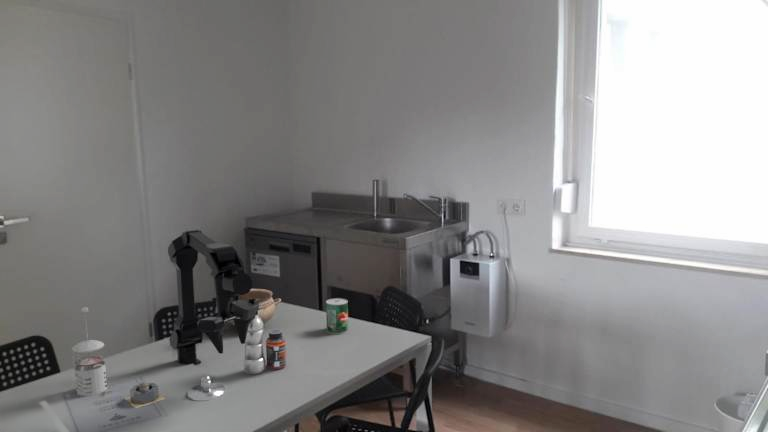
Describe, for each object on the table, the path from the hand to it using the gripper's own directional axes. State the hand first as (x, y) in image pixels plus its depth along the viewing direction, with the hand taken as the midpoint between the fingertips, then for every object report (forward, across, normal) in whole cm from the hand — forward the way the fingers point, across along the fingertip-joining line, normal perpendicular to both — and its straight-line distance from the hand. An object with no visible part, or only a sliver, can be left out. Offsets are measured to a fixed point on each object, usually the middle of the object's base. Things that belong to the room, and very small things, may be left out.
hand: (232, 348), depth 163 cm
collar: (+11, -13, +21) cm, 27 cm away
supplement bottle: (+12, +22, +2) cm, 25 cm away
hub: (+13, -3, +8) cm, 16 cm away
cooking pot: (+7, +49, +33) cm, 59 cm away
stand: (+12, -13, +21) cm, 27 cm away
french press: (+10, -14, +40) cm, 44 cm away
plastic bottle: (+12, +16, +6) cm, 21 cm away
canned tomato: (+11, +58, +1) cm, 59 cm away
